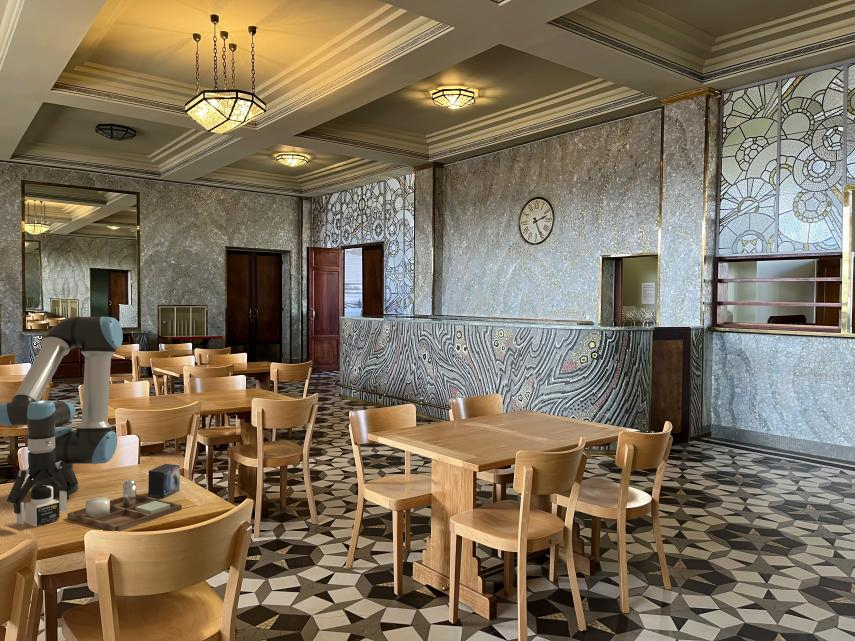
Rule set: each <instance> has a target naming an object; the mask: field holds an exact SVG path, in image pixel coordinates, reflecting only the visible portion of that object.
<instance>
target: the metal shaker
mask: <svg viewBox="0 0 855 641" xmlns="http://www.w3.org/2000/svg"><path fill="white" fill-rule="evenodd" d="M122 491H123V492H122V495H123V496H122V497H123V507H125V508H129V507H132V506H135V505H136V494H137V483H136V481H135V480H134V479H127V480H125V481H124V482H123V484H122Z"/></svg>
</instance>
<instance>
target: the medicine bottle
mask: <svg viewBox="0 0 855 641" xmlns="http://www.w3.org/2000/svg"><path fill="white" fill-rule="evenodd" d="M30 497H31V498H30V501H28V502H24V524H27V525H30V526H33V527H36V528H39V527H42V526H47V525H49V524H53V523H57V522H60V520H61V517H60V516H61V514H60V513H61V512H60V500H57V499H54V497H53V487H52V486H49V485H41V486H37V487H34V488H33V489H32V490H31V489H30Z"/></svg>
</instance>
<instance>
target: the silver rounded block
mask: <svg viewBox="0 0 855 641" xmlns="http://www.w3.org/2000/svg"><path fill="white" fill-rule="evenodd" d="M110 500H111V499H110V497H109V498H108V497H104V496H103V497H93V498H90V499H87V500H86V501H85V508H86V517H88V518H91V519H95V518H98V517H101V516H104V515H107V514H110Z"/></svg>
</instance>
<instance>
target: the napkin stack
mask: <svg viewBox="0 0 855 641" xmlns="http://www.w3.org/2000/svg"><path fill="white" fill-rule="evenodd" d="M168 508H170V504H166V503H162V502H158V501H153V502H150V503H147V504H144V505H141V506H137V507H136V511H138V512H142V513H146V514H150V515H151V514H153V513H156V512H159V511H162V510H165V509H168Z"/></svg>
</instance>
